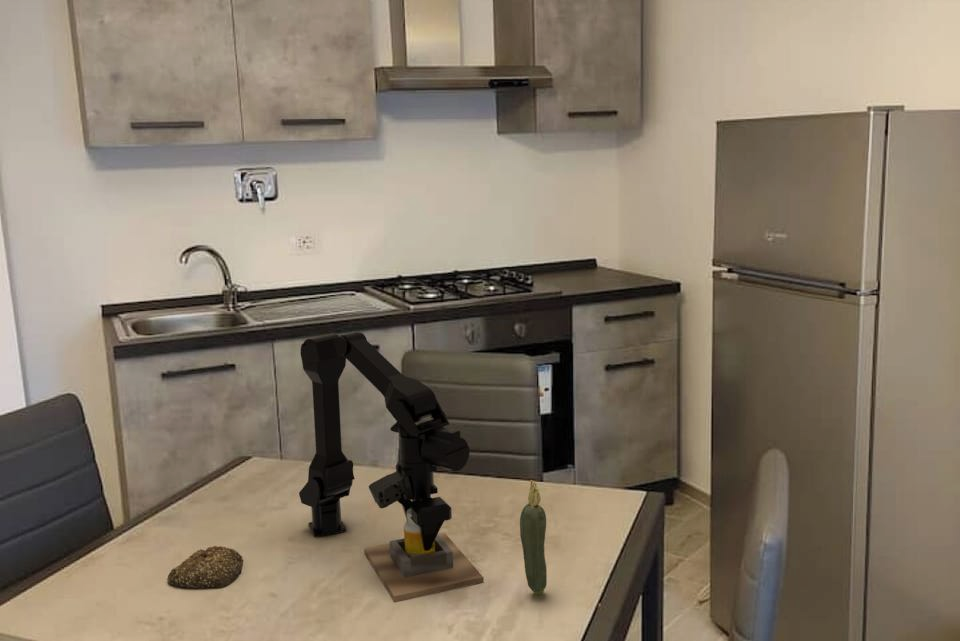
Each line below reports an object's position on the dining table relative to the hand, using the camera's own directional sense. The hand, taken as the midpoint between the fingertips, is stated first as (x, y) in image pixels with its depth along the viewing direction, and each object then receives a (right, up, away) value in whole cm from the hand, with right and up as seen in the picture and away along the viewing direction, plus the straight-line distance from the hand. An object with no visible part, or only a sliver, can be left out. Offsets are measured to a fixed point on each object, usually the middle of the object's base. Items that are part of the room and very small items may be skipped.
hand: (420, 541), depth 157 cm
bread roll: (-38, -7, +1) cm, 39 cm away
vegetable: (+20, -7, -10) cm, 23 cm away
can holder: (0, -5, +1) cm, 5 cm away
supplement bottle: (0, -4, +1) cm, 4 cm away
